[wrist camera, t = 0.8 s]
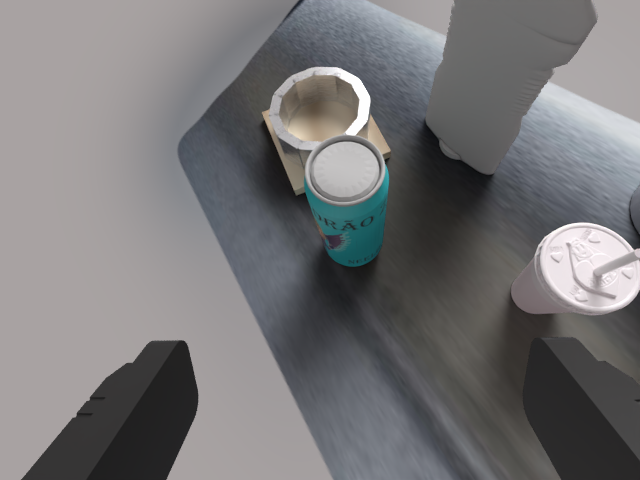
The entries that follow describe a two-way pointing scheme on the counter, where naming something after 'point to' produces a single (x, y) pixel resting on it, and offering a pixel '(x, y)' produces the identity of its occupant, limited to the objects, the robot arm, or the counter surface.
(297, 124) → the base board
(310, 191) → the beverage can
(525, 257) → the counter surface
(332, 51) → the counter surface
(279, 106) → the collar
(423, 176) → the counter surface
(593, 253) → the smoothie
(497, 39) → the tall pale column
